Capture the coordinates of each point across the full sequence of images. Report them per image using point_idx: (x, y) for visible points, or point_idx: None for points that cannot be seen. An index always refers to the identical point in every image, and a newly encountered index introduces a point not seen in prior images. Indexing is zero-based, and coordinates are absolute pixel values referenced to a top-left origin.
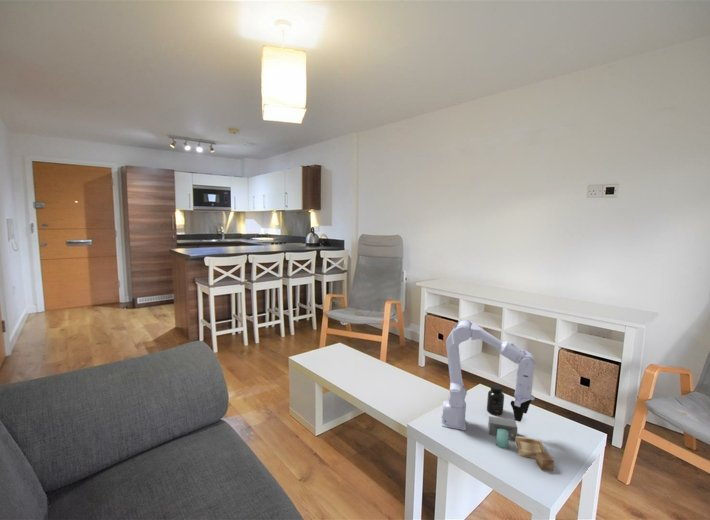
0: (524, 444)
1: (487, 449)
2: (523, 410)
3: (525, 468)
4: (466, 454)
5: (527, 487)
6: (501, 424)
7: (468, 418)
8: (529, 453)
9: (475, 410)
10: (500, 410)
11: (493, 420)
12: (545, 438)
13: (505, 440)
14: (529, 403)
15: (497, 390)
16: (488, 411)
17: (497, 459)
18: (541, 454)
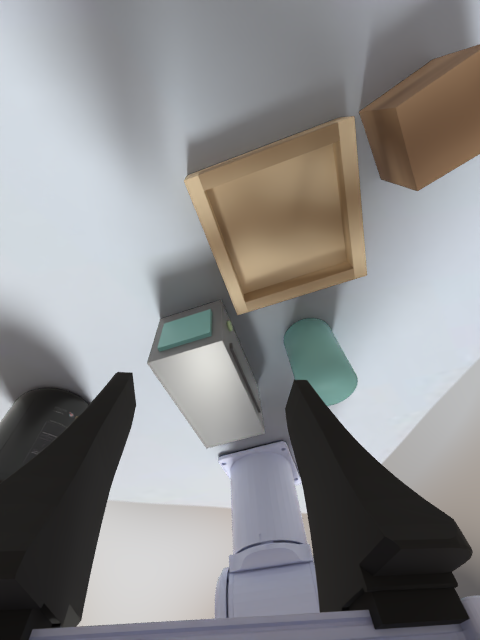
0: (262, 260)
1: (365, 368)
2: (427, 510)
3: (452, 219)
4: (422, 405)
5: None
6: (247, 401)
7: (197, 452)
8: (359, 225)
9: None
10: (57, 412)
11: (233, 430)
12: (76, 151)
13: (341, 349)
14: (80, 469)
15: None
16: None
17: (419, 329)
18: (436, 154)
